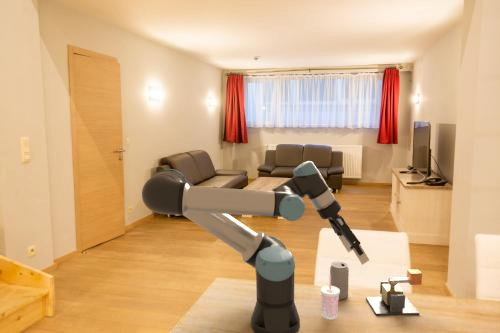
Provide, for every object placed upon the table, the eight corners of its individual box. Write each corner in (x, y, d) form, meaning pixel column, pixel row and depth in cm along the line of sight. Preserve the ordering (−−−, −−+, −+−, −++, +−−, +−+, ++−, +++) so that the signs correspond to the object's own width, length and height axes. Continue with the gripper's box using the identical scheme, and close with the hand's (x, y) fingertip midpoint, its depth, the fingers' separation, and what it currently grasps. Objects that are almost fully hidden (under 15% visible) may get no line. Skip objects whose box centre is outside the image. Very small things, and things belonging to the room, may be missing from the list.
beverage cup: (323, 321, 121) (324, 279, 119) (317, 311, 127) (318, 271, 125) (342, 319, 122) (343, 278, 120) (335, 310, 128) (335, 270, 126)
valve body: (376, 315, 124) (377, 292, 123) (366, 299, 135) (366, 278, 134) (419, 315, 124) (420, 292, 123) (405, 298, 135) (406, 277, 134)
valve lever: (390, 286, 127) (390, 273, 127) (386, 282, 130) (387, 270, 130) (421, 285, 127) (422, 273, 127) (417, 281, 130) (418, 269, 130)
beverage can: (349, 300, 135) (350, 268, 133) (331, 300, 135) (332, 268, 133) (345, 292, 141) (346, 260, 139) (328, 292, 141) (328, 261, 139)
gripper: (347, 203, 116) (382, 261, 118) (325, 192, 141) (354, 240, 143) (326, 217, 116) (362, 274, 117) (307, 203, 140) (337, 251, 142)
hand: (358, 255), depth 130 cm, fingers open, 13 cm apart
